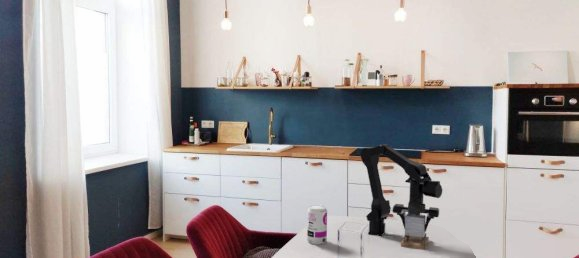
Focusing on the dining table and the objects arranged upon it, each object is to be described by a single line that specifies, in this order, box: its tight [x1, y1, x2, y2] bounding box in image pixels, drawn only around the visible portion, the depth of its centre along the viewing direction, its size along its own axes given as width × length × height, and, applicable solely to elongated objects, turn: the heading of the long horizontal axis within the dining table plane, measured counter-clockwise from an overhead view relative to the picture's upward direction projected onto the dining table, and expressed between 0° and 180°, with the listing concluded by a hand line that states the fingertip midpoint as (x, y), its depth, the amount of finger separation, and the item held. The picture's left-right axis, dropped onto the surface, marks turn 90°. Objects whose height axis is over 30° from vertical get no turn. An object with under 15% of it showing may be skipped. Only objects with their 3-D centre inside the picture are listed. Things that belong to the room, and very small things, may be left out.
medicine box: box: [404, 213, 427, 237], centre depth 205 cm, size 8×4×9 cm, turn 66°
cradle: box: [400, 232, 430, 250], centre depth 205 cm, size 10×13×3 cm
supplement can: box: [306, 204, 328, 245], centre depth 205 cm, size 8×8×15 cm
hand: (415, 230), depth 205 cm, fingers closed on medicine box, 8 cm apart
